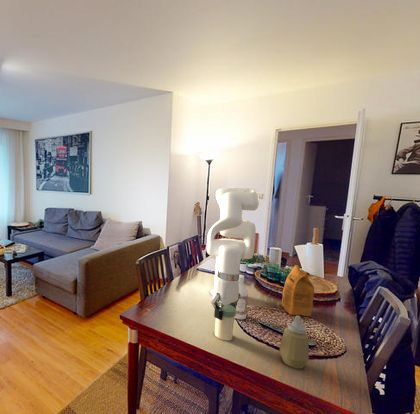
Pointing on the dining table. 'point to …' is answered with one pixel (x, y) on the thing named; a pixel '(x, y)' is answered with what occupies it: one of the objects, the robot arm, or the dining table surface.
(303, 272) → the coffee package
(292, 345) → the squeeze bottle
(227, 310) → the lid
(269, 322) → the dining table surface
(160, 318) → the dining table surface
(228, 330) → the jar
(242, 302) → the bath foam
